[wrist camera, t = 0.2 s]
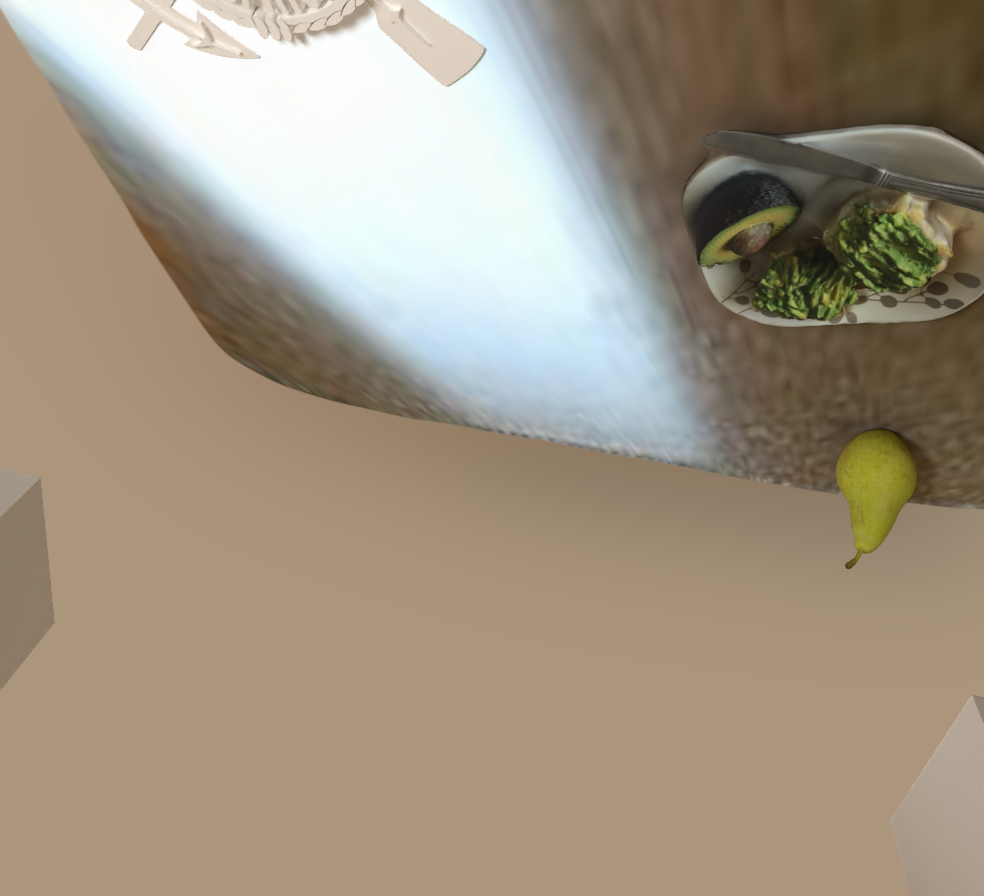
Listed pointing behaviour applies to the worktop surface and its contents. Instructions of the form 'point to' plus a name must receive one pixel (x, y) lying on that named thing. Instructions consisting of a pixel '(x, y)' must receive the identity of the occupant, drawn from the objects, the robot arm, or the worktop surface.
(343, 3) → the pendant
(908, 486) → the fruit
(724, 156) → the salad plate
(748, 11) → the worktop surface
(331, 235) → the worktop surface
